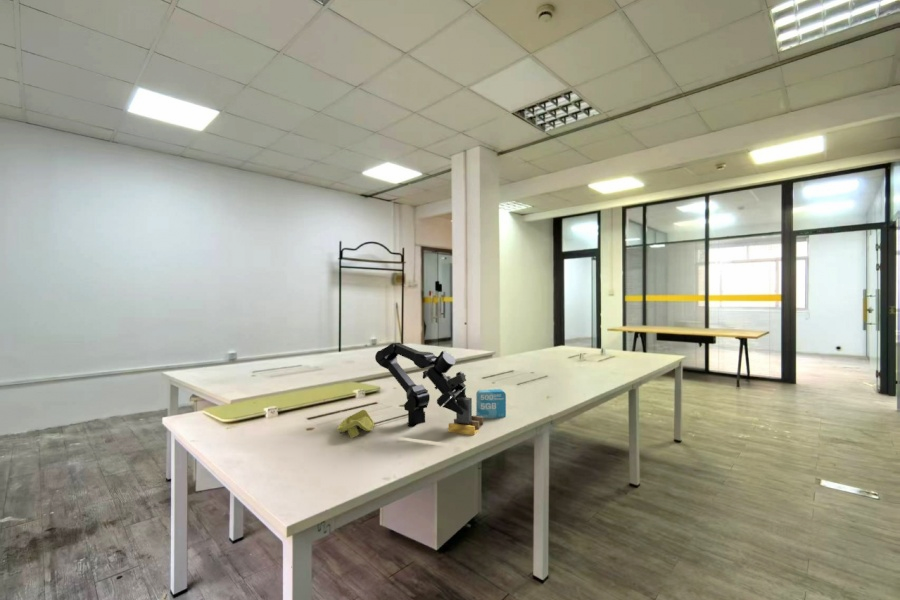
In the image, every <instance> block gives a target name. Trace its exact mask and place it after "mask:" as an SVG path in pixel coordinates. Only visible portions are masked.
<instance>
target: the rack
mask: <svg viewBox="0 0 900 600" xmlns="http://www.w3.org/2000/svg"><path fill="white" fill-rule="evenodd" d="M483 425H484V418H483V417H479V416H477V415H472V426H470V425H461V424H456V418H453V423H450V422H449V423H448V432H449V433H453V434H461V435H462V434H463V435H471V436H475V435H476V434H477V432H478V431H479V430H480V429H481V428H482V427H483Z"/></svg>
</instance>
